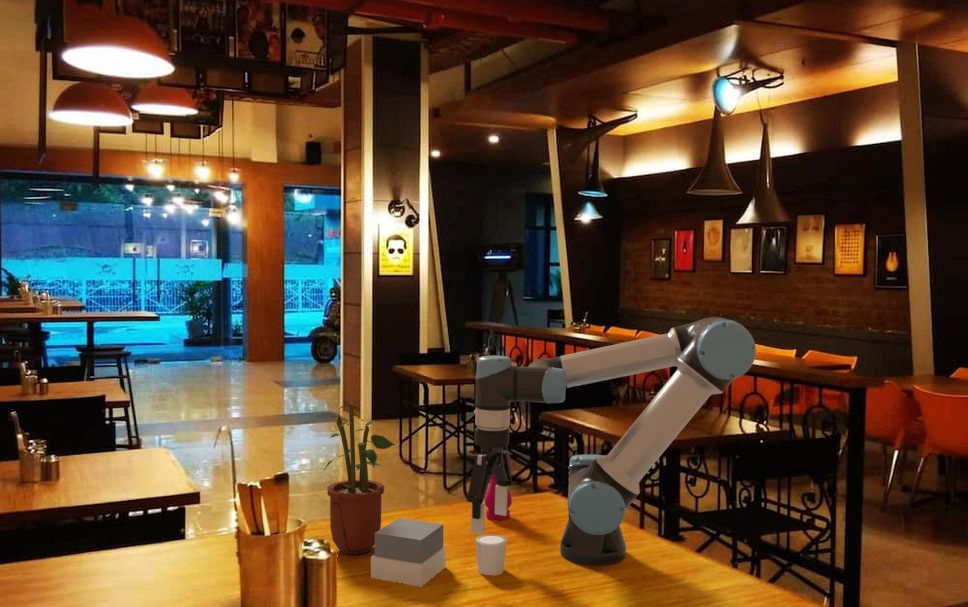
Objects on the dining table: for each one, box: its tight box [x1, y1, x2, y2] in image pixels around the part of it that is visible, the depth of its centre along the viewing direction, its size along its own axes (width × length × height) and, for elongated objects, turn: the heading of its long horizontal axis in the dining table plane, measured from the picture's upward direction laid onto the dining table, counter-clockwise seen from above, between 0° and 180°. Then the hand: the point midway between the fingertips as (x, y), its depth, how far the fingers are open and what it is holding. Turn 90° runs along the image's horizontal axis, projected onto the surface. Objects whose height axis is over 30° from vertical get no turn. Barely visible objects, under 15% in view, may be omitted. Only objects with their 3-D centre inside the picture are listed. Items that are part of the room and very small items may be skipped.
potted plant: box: [322, 402, 396, 555], centre depth 188 cm, size 17×16×35 cm
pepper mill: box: [484, 452, 513, 521], centre depth 211 cm, size 7×7×20 cm
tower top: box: [374, 517, 444, 564], centre depth 173 cm, size 11×11×5 cm
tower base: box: [370, 545, 447, 588], centre depth 173 cm, size 12×12×5 cm
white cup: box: [475, 534, 508, 576], centre depth 174 cm, size 7×7×7 cm
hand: (489, 523), depth 174 cm, fingers open, 13 cm apart
